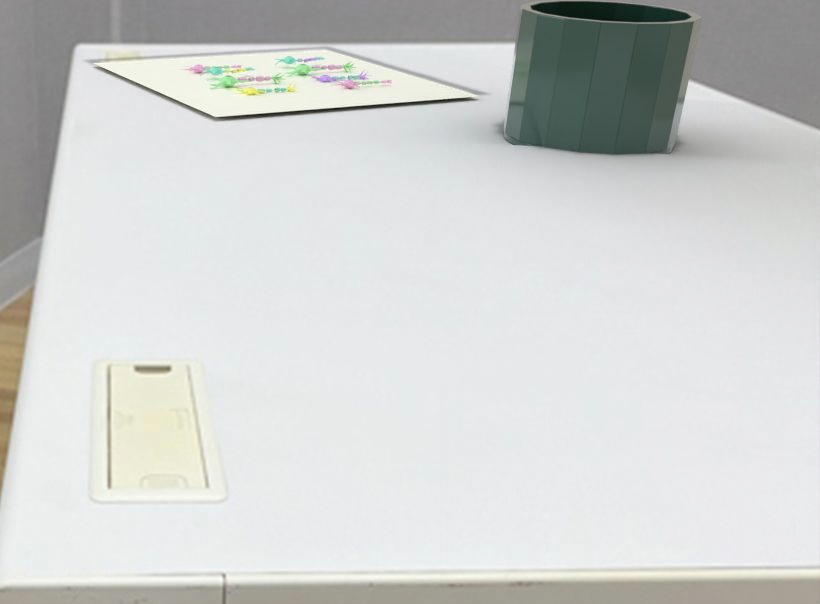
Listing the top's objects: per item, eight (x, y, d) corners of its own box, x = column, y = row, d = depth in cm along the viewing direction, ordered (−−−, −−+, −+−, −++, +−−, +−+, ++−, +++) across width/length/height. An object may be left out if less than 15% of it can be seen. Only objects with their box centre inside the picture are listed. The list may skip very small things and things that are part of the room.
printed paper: (215, 120, 110) (215, 103, 109) (92, 66, 132) (92, 52, 131) (479, 99, 122) (481, 84, 121) (326, 53, 144) (327, 39, 143)
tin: (659, 128, 112) (684, 4, 106) (684, 165, 100) (715, 27, 94) (500, 119, 114) (517, -4, 108) (506, 154, 102) (526, 18, 96)
